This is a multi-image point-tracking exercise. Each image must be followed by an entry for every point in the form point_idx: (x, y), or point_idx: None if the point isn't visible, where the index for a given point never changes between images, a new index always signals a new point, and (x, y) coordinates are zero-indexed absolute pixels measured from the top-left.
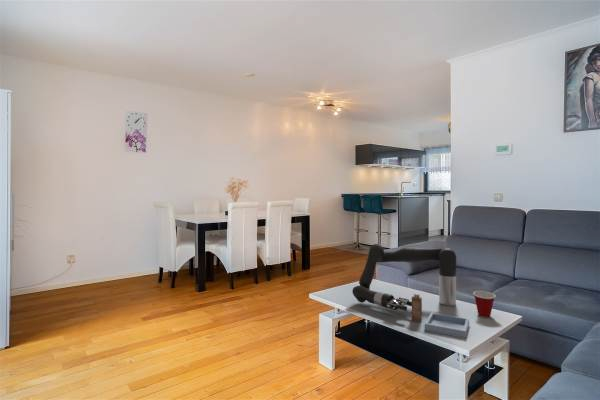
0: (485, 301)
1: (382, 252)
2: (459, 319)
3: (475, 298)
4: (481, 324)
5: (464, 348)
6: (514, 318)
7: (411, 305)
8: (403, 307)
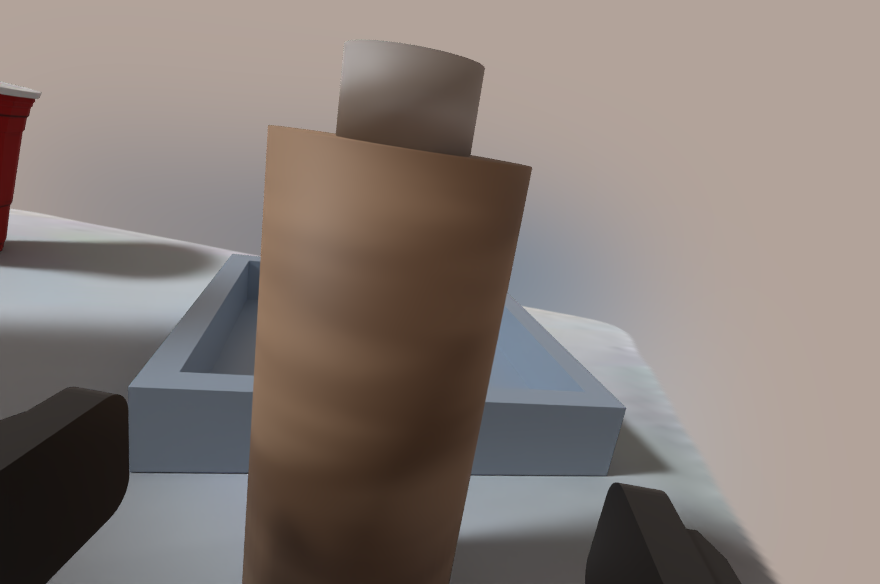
0: (23, 123)
1: None
2: (240, 286)
3: None
4: (184, 273)
5: (621, 330)
6: (15, 211)
7: (55, 548)
8: (731, 576)
